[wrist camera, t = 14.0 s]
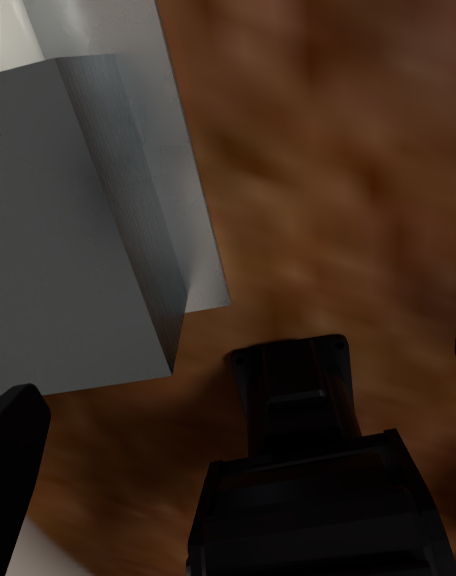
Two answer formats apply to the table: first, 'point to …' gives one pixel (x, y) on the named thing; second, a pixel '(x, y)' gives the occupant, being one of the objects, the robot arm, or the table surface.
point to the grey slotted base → (98, 203)
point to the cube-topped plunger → (17, 36)
